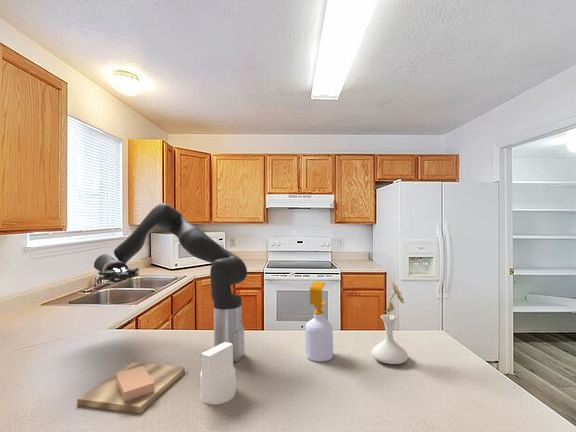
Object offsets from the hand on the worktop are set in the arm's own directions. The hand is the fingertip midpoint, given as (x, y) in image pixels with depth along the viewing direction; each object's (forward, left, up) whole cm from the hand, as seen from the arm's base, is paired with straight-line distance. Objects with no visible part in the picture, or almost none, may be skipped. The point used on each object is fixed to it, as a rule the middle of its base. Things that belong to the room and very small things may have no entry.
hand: (124, 277), depth 99 cm
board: (-14, +12, -28) cm, 33 cm away
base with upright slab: (-38, +11, -28) cm, 48 cm away
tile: (-11, +11, -25) cm, 29 cm away
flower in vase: (-85, -18, -28) cm, 91 cm away
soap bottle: (-62, -16, -28) cm, 70 cm away
